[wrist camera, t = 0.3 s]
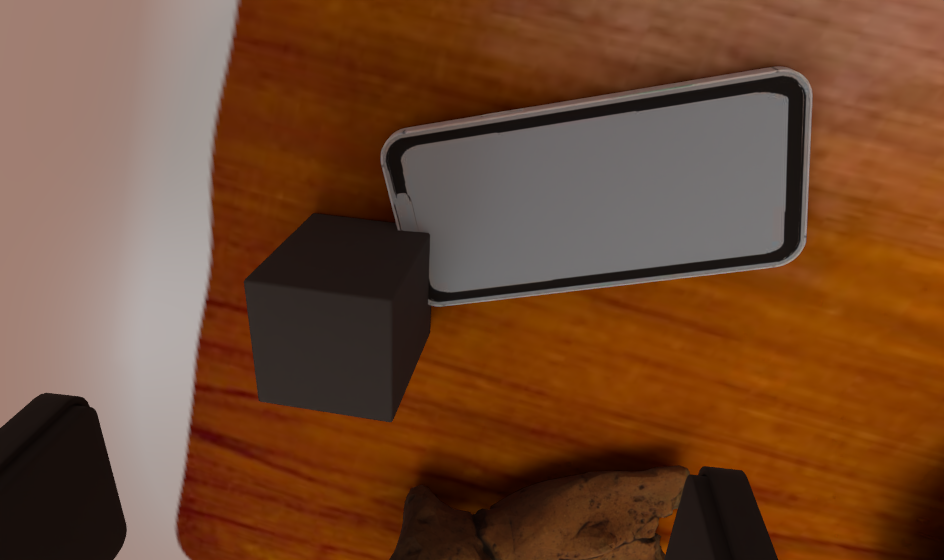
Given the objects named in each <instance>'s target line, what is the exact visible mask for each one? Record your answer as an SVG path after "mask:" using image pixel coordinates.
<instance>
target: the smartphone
mask: <svg viewBox="0 0 944 560" xmlns="http://www.w3.org/2000/svg"><path fill="white" fill-rule="evenodd" d="M812 98H813V97H812V89H811V85H810V83H809V81H808V80H807V79H806V78H805V77H804V76H803V75H802V74H801V73H799V72H797V71H795V70H793V69H791V68H787V67H782V66H776V67H768V68H762V69H756V70H750V71H744V72H738V73H732V74H726V75H720V76H714V77H708V78H702V79H696V80H690V81H684V82H678V83H672V84H666V85H660V86H654V87H648V88H642V89H636V90H630V91H624V92H618V93H612V94H606V95H600V96H594V97H588V98H582V99H576V100H570V101H564V102H558V103H552V104H546V105H540V106H534V107H528V108H520V109H514V110H508V111H502V112H496V113H490V114H484V115H480V116H473V117H467V118H461V119H455V120H449V121H443V122H437V123H431V124H425V125H419V126H413V127H407V128H403V129H400V130H398V131H396V132H394V133H393V134H392V135H391V136H390V137H389V138H388V140H387V141H386V142H385V144H384V145H383V148H382V150H381V157H380V160H381V166H382V170H383V174H384V178H385V182H386V186H387V190H388V194H389V198H390V201H391V205H392V209H393V213H394V217H395V221H396V225H397V229H398V230H403V231H412V232H425V233H429V234H430V258H429V290H428V304H429V305H432V306H438V307H441V306H451V305H459V304H468V303H476V302H485V301H493V300H502V299H510V298H519V297H527V296H535V295H544V294H552V293H561V292H569V291H578V290H586V289H595V288H603V287H612V286H620V285H629V284H637V283H646V282H654V281H663V280H671V279H680V278H688V277H697V276H705V275H714V274H722V273H731V272H739V271H748V270H756V269H764V268H773V267H779V266H783V265H785V264H787V263H789V262H791V261H792V260H794V259H795V258H796V257H797V256H798V255H799V254H800V253H801V251H802V250H803V248H804V246H805V243H806V234H807V212H808V189H809V166H810V143H811V120H812Z"/></svg>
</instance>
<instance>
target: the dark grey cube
mask: <svg viewBox="0 0 944 560" xmlns="http://www.w3.org/2000/svg"><path fill="white" fill-rule="evenodd" d="M429 258H430V234H429V233H425V232H412V231H403V230H398V229H397V225H396V223H390V222H382V221H374V220H366V219H357V218H349V217H341V216H333V215H324V214H316V213H314V214H312V215H311V216H310V217H309V218H308V219H307V220H306V221H305V222H304V223H303V224H302V225H301V226H300V227H299V228H298V229H297V230H296V231H295V232H294V233H292V234H291V235H290V236H289V237H288V238H287V239H286V240H285V241H284V242H283V243H282V244H281V245H280V246H279V247H278V248H277V249H276V250H275V251H274V252H273V253H272V254H271V255H270V256H269V257H268V258H267V259H266V260H265V261H264V262H263V263H262V264H261V265H259V266H258V267H257V268H256V269H255V270H254V271H253V272H252V273H251V274H250V275H249V276H248V277H247V278H246V279H245V281H244V286H245V294H246V302H247V310H248V318H249V326H250V334H251V342H252V350H253V358H254V366H255V374H256V382H257V390H258V398H259V401H261V402H267V403H273V404H279V405H286V406H292V407H298V408H305V409H311V410H317V411H323V412H330V413H336V414H342V415H348V416H355V417H361V418H367V419H373V420H380V421H386V422H392V421H393V419H394V416H395V414H396V412H397V409H398V407H399V405H400V402H401V400H402V398H403V395H404V393H405V390H406V388H407V386H408V383H409V381H410V379H411V376H412V374H413V372H414V369H415V367H416V365H417V362H418V360H419V357H420V355H421V353H422V350H423V348H424V346H425V343H426V341H427V339H428V336H429V334H430V318H431V305H429V304H428V290H429Z"/></svg>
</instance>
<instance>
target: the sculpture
mask: <svg viewBox="0 0 944 560" xmlns="http://www.w3.org/2000/svg"><path fill="white" fill-rule="evenodd" d="M689 474H690V472H689V471H688V469H687V468H685V467H683V466H680V465H678V466H665V467H654V468H651V469H648V470H643V471H634V472H631V471H599V472H587V473H584V474H581V475H573V476H569V477H564V478H558V479H552V480H546V481H543V482H540V483H537V484H534V485H531V486H528V487H525V488H523V489H521V490H519V491H517V492H515V493H513V494H511V495H509V496H507V497H506V498H504V499H502V500H501V501H499V502H497V503H496V504H494V505H492V506H491V508H490V510H489V509H481V510H478V511H477V512H476V513H475V514H471V513H470V512H466V511H461V510H456V509H453V508H451V507H450V506H448V505H446V504H445V503H443V502H441V501H440V500H439V499H438V498H437V497H436V496H435V495H434V494H433V493H432V492H431V491H430V489H429V488H428V487H427V486H424V485H419V486H416V487H413V488H411V489H410V491H409V493H408V495H407V497H406V500H405V505H404V513H403V525H402V530H401V534H400V537H399V540H398V543H397V546H396V549H395V551H394V553H393V555H392V556H391V558H390V560H664V559H665V554H664V552H663V551H662V549H661V546H660V545H659V543H660V538H661V536H660V535H658V534H656V533H655V531H656V529H657V526H658V521H659V517H667V516H669V515H672V513H673V509H677V508H678V507H679V503H680V499H681V496H682V492H683V488H684V484H685V481H686V478H687V476H688V475H689Z"/></svg>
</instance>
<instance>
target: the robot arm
mask: <svg viewBox="0 0 944 560" xmlns="http://www.w3.org/2000/svg"><path fill="white" fill-rule="evenodd" d="M126 531H127V529H126V522H125V519H124V515H123V511H122V508H121V503H120V500H119V496H118V492H117V488H116V484H115V480H114V477H113V473H112V469H111V465H110V461H109V457H108V454H107V450H106V446H105V442H104V438H103V435H102V431H101V427H100V423H99V419H98V415H97V413H96V411H95V409H93V408H92V407H90V406H89V404H88V402H87V401H86V400H85V399H84V398H83V397H78V396H69V395H61V394H52V393H44V394H41V395H39V396H37V397H36V398H34V399H33V400H32V401H31V402H30V403H29V404H28V405H26V406H25V407H24V408H23V409H22V410H21V411H20V412H18V413H17V414H16V415H15V416H14V417H13V418H12V419H10V420H9V421H8V422H7V423H6V424H5V425H3V426H2V427H1V428H0V560H113V559H114V558H115V557H116V555H117V554H118V552H119V551H120V549H121V548H122V546H123V543H124V541H125V537H126ZM664 560H778V558H777V556H776V553H775V550H774V548H773V545H772V542H771V540H770V537H769V534H768V532H767V529H766V526H765V524H764V521H763V518H762V516H761V513H760V511H759V508H758V505H757V503H756V500H755V497H754V495H753V492H752V489H751V487H750V484H749V481H748V479H747V477H746V475H745V473H744V472H743V471H742V470H733V469H724V468H715V467H706V466H704V467H702V468H701V469H700V471H699V474H698V475H688V476H687V478H686V481H685V484H684V488H683V492H682V496H681V499H680V503H679V507H678V511H677V514H676V518H675V522H674V525H673V529H672V533H671V537H670V540H669V544H668V548H667V552H666V555H665V559H664Z"/></svg>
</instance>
